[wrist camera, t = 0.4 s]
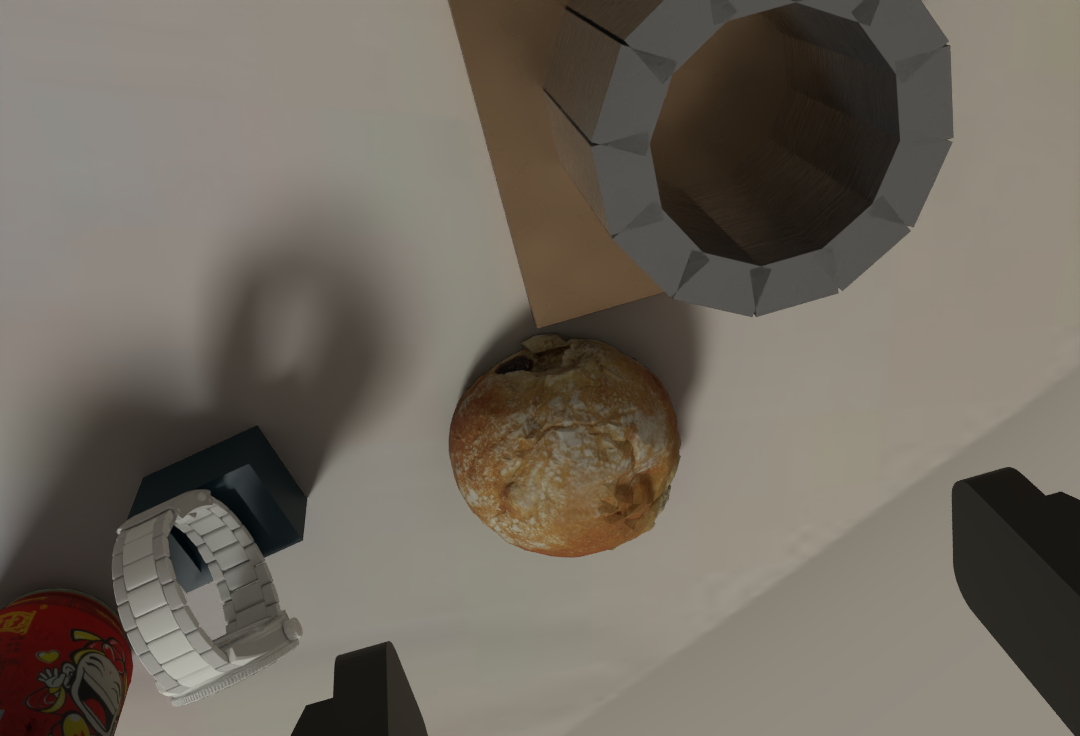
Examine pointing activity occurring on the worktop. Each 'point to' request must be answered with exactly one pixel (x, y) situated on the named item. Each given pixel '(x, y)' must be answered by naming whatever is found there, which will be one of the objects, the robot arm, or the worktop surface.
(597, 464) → the bread roll
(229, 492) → the watch
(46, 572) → the worktop surface
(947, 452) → the worktop surface
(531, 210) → the gray cylinder on base
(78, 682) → the soda can
